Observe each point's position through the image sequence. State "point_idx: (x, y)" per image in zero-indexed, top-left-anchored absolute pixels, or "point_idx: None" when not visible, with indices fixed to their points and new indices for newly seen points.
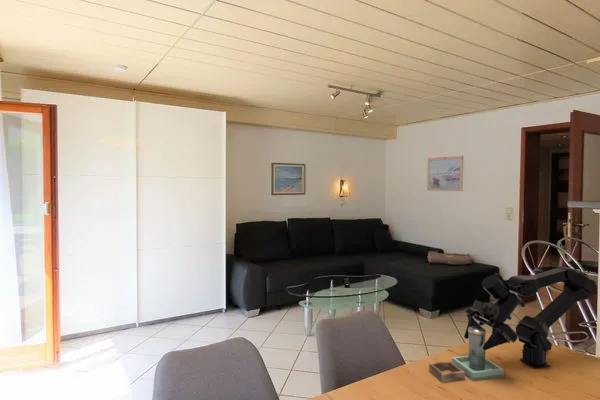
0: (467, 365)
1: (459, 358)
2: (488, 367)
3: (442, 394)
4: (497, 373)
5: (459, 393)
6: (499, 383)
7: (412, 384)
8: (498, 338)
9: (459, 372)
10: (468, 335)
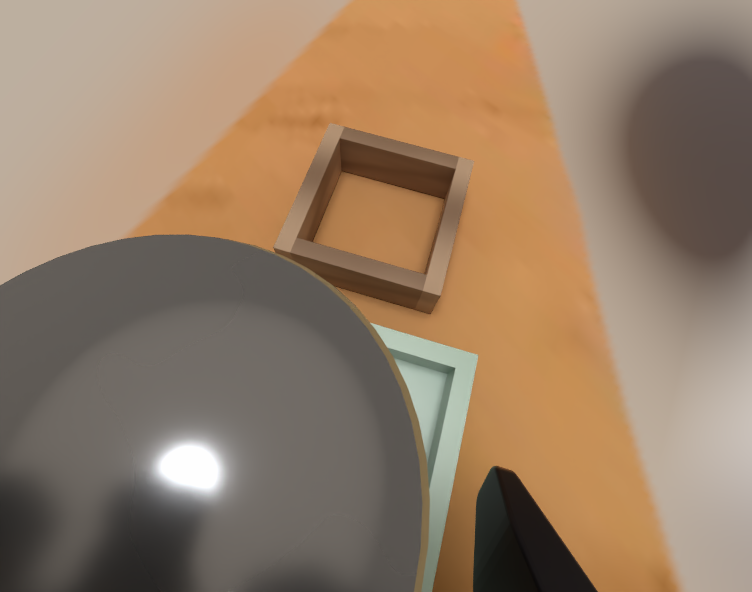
0: None
1: (445, 406)
2: None
3: (266, 89)
4: None
5: (222, 147)
6: None
7: (395, 55)
8: None
9: (290, 215)
10: (485, 551)
